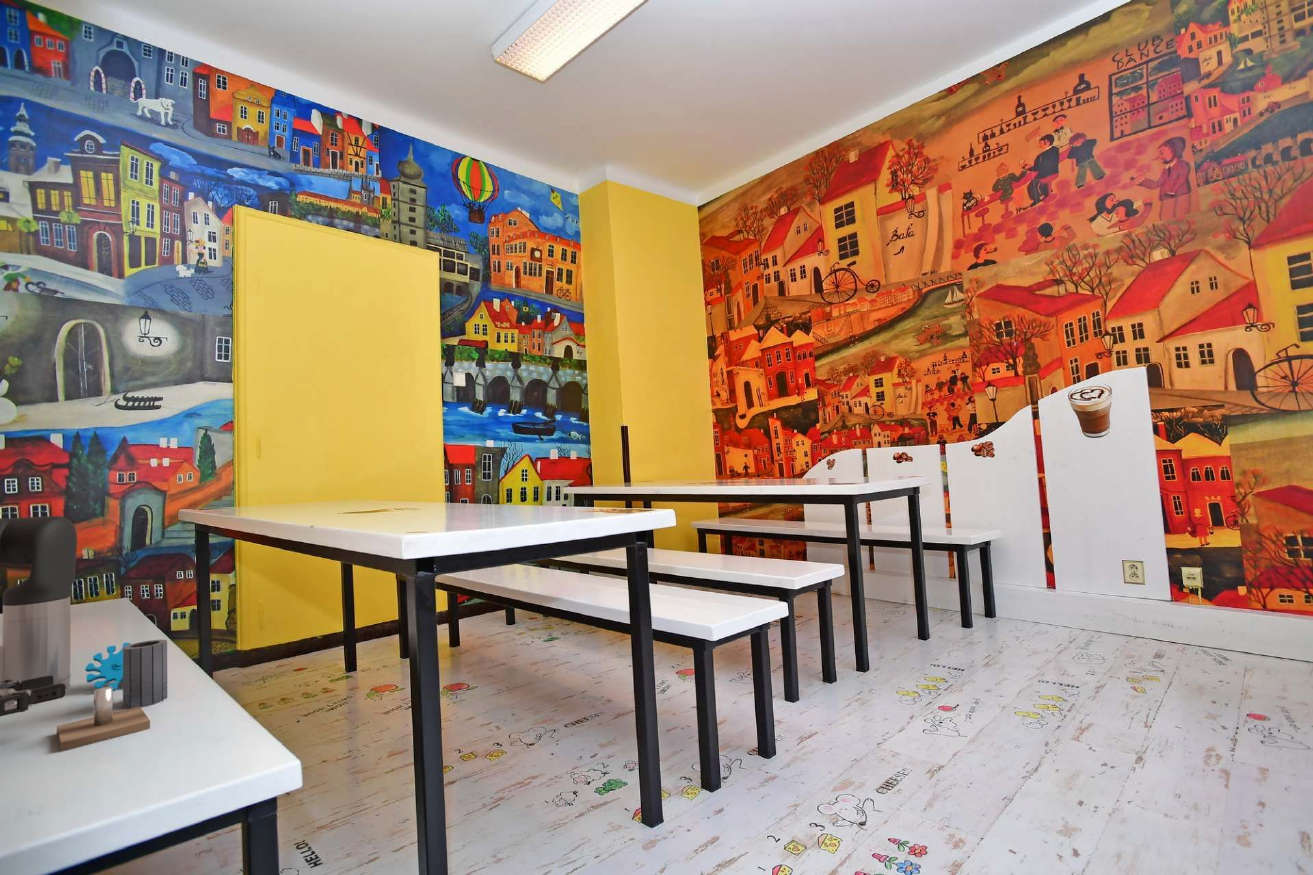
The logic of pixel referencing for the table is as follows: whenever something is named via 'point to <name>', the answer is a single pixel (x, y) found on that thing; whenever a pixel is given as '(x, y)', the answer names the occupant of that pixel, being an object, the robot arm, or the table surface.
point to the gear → (107, 668)
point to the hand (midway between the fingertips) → (58, 685)
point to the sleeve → (144, 673)
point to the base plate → (101, 728)
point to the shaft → (103, 706)
